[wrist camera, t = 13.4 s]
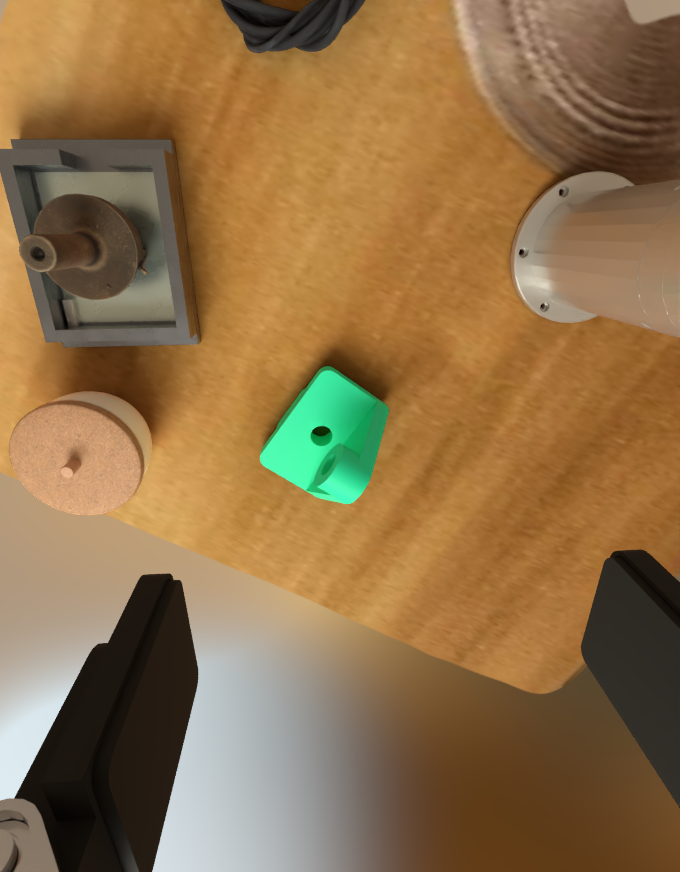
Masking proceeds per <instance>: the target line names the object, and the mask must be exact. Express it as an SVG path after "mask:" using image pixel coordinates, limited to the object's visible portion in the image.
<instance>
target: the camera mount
mask: <svg viewBox="0 0 680 872" xmlns="http://www.w3.org/2000/svg"><path fill="white" fill-rule="evenodd" d="M388 413H389V409H388V407H387V405H386V404H385V403H383V402H382V401H380V400H379V399H378V398H376V397H375V396H373V395H372V394H370V393H369V392H368V391H366V390H365V389H363V388H362V387H360V386H359V385H358V384H356V383H355V382H353V381H352V380H350V379H349V378H348V377H346V376H345V375H343V374H342V373H340V372H339V371H337V370H336V369H335V368H333V367H331V366H325V367H322V368H321V369H319V371H318V372H317V373H316V375H315V376H314V377H313V379H312V380H311V382H310V383H309V384H308V386H307V387H306V388H305V389H304V388H303V390H302V391H301V392H300V394H299V395H298V397H297V398H296V399H295V401H294V402H293V403H292V405H291V406H290V408H289V409H288V410H287V412H286V413H285V414H284V416H283V417H282V419H281V420H280V421H279V423H278V424H277V428H276V430H275V431H274V432H273V434H272V435H271V436H270V438H269V439H268V440H267V442H266V443H265V445H264V446H263V447H262V450H261V455H260V461H261V463H262V465H263V466H265V467H266V468H268V469H270V470H271V471H273V472H275V473H277V474H278V475H280V476H282V477H283V478H285V479H287V480H288V481H290V482H292V483H293V484H295V485H297V486H299V487H300V488H302V489H304V490H305V491H307V492H309V493H310V494H312V495H314V496H316V497H317V498H321V499H325V500H330V501H335V502H339V503H344V504H350V503H352V502H354V501H355V500H356V499H357V498H358V497H359V496H360V495H361V494H362V493H363V491H364V490H365V488H366V487H367V485H368V483H369V481H370V478H371V475H372V472H373V468H374V465H375V461H376V457H377V453H378V450H379V446H380V442H381V439H382V435H383V431H384V427H385V424H386V420H387V416H388ZM318 426H325V427H328V428H329V429H330V432H329V433H328V434H327V435H325V436H317V435H315V434H313V433H312V430H313V429H314V428H316V427H318Z"/></svg>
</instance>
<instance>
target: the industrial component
mask: <svg viewBox="0 0 680 872" xmlns="http://www.w3.org/2000/svg"><path fill="white" fill-rule="evenodd" d="M19 252H20V256H21V258H22V259H23V261H24V262H25V264H26V265H27V266H29V267H30V268H31V269H33V270H35V271H38V272H46V273H47V274H48V275H49V277H50V278H51V279H52V280H53V281H54V282H55V283H56V284H57V285H59V286H60V287H61V288H63V289H64V290H65V291H67V292H69V293H71V294H73V295H75V296H78V297H80V298H84V299H90V300H104V299H108V298H112V297H115V296H118V295H119V294H120V293H122V292H123V291H124V290H125V289H126V288H128V286H129V285H130V284H131V282H132V281H133V279H134V277H135V274H136V272H137V269H138V270H140V271H141V272H142V273H143V274H145V275H147V274H148V271H147V270H146V269H145V262H147V259H146V249H145V248H144V247H143V246H142V242H141V239H140V236H139V234H138V231H137V229H136V228H135V226H134V224H133V223H132V221H131V220H130V219H129V218H128V217H127V215H126V214H125V213H124V212H123V211H121V210H120V209H119V208H118V207H117V206H115V205H114V204H112V203H110V202H108V201H107V200H104V199H102V198H99V197H96V196H91V195H84V194H66V195H62V196H59V197H56V198H54V199H53V200H51V201H50V202H48V203H47V204H46V205H45V206H44V207H43V208H42V210H41V211H40V212H39V215H38V216H37V219H36V222H35V226H34V233H33V234H31V235H27V236H25V237H24V239H23V240H22V241H21V243H20V247H19Z"/></svg>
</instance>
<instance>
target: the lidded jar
mask: <svg viewBox="0 0 680 872" xmlns="http://www.w3.org/2000/svg"><path fill="white" fill-rule="evenodd" d="M9 453H10V459H11V463H12V466H13V469H14V471H15V473H16V475H17V477H18V478H19V480H20V481H21V483H22V484H23V485H24V487H25V488H27V490H28V491H29V492H30V493H31V494H33V495H34V496H35V497H37V498H38V499H39V500H40V501H42V502H44V503H45V504H47V505H49V506H51V507H53V508H56V509H58V510H60V511H64V512H67V513H72V514H77V515H98V514H103V513H107V512H110V511H113V510H115V509H117V508H119V507H121V506H122V505H124V504H125V503H126V502H127V501H129V499H130V498H131V497H132V496H133V495H134V494H135V492H136V491H137V489H138V487H139V485H140V484H141V481H142V479H143V477H144V475H145V473H146V471H147V469H148V466H149V463H150V460H151V454H152V438H151V434H150V430H149V428H148V425H147V423H146V421H145V420H144V418H143V417H142V415H141V414H140V413H139V412H138V411H137V410H136V409H135V408H134V407H133V406H132V405H131V404H129V403H128V402H126V401H125V400H123V399H121V398H119V397H117V396H114V395H111V394H108V393H103V392H95V391H81V392H76V393H71V394H67V395H64V396H61V397H59V398H56V399H54V400H52V401H50V402H48V403H46V404H44V405H42V406H39V407H37V408H36V409H34V410H32V411H31V412H29V413H28V414H26V415H25V416H24V417H23V418H22V419H21V420H20V421H19V422H18V424H17V425H16V426H15V428H14V430H13V433H12V435H11V439H10V444H9Z"/></svg>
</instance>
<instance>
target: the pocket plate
mask: <svg viewBox="0 0 680 872" xmlns="http://www.w3.org/2000/svg"><path fill="white" fill-rule="evenodd" d="M11 143H12V147H13V149H0V173H1V176H2V180H3V184H4V187H5V191H6V195H7V199H8V202H9V206H10V210H11V214H12V217H13V221H14V225H15V228H16V232H17V236H18V240H19V243H21V241H22V240H23V239H24V237H25V236H27V235H31V234H33V233H34V226H35V222H36V219H37V216H38V215H39V212H40V211H41V210H42V208H43V207H44V206H45V205H46V204H47V203H48V202H50V201H51V200H53V199H54V198H56V197H59V196H62V195H66V194H84V195H91V196H96V197H99V198H102V199H104V200H107V201H108V202H110V203H112V204H114V205H115V206H117V207H118V208H119V209H120V210H121V211H123V212H124V213H125V214H126V215H127V217H128V218H129V219H130V220H131V221H132V223H133V224H134V226H135V228H136V229H137V231H138V234H139V236H140V239H141V242H142V246H143V247H144V248H145V249H146V259H147V262H145V269H146V270H147V271H148V274H147V275H145V274H143V273H142V272H141V271H140V270H138V269H137V272H136V274H135V277H134V279H133V281H132V282H131V284H130V285H129V286H128V288H126V289H125V290H124V291H123V292H122V293H120V294H119V295H118V296H115V297H112V298H108V299H104V300H90V299H84V298H80V297H78V296H75V295H73V294H71V293H69V292H67V291H65V290H64V289H63V288H61V287H60V286H59V285H57V284H56V283H55V282H54V281H53V280H52V279H51V278H50V277H49V275H48V274H47V273H46V272H38V271H35V270H33V269H31V268H30V267H29V266H27V265H26V264H25V266H26V269H27V273H28V277H29V281H30V284H31V288H32V292H33V296H34V299H35V303H36V307H37V310H38V314H39V318H40V322H41V325H42V329H43V333H44V336H45V340H46V342H62V344H63V347H104V346H148V345H191V344H199V343H200V342H201V338H200V330H199V323H198V315H197V308H196V300H195V293H194V285H193V277H192V270H191V262H190V255H189V247H188V239H187V232H186V224H185V217H184V209H183V201H182V194H181V186H180V179H179V171H178V163H177V156H176V148H175V142H173V141H172V140H143V139H11Z"/></svg>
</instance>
